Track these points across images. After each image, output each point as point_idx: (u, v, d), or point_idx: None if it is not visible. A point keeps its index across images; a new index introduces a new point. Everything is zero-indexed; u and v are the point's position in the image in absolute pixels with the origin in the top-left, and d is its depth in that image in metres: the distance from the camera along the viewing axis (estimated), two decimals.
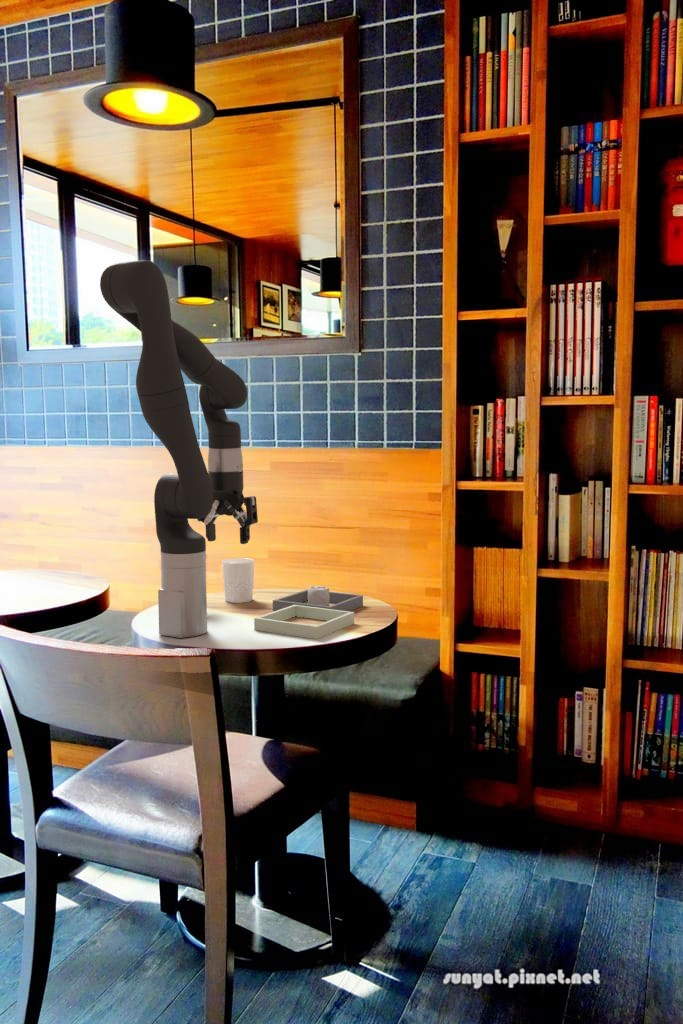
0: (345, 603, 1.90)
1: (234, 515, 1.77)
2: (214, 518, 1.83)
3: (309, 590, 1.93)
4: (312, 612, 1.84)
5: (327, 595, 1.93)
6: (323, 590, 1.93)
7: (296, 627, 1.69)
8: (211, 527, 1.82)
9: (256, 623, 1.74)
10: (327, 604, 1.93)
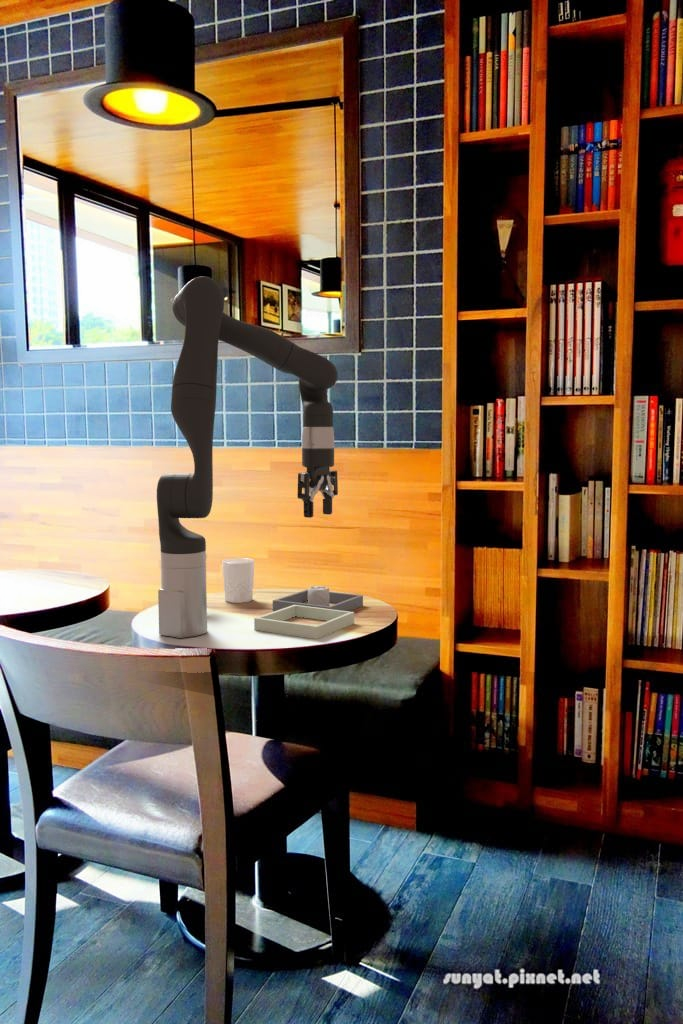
0: (345, 603, 1.90)
1: (331, 488, 1.94)
2: None
3: (309, 590, 1.93)
4: (312, 612, 1.84)
5: (327, 595, 1.93)
6: (323, 590, 1.93)
7: (296, 627, 1.69)
8: None
9: (256, 623, 1.74)
10: (327, 604, 1.93)
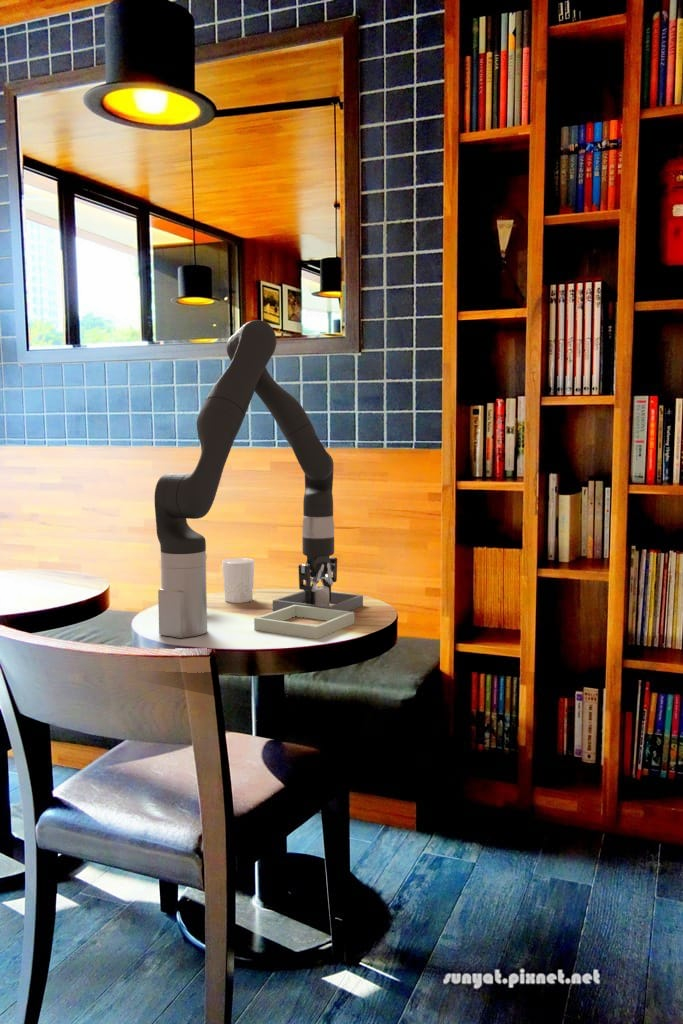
0: (345, 603, 1.90)
1: (330, 575, 1.96)
2: None
3: None
4: (312, 612, 1.84)
5: (327, 595, 1.93)
6: (323, 590, 1.93)
7: (296, 627, 1.69)
8: None
9: (256, 623, 1.74)
10: (327, 604, 1.93)
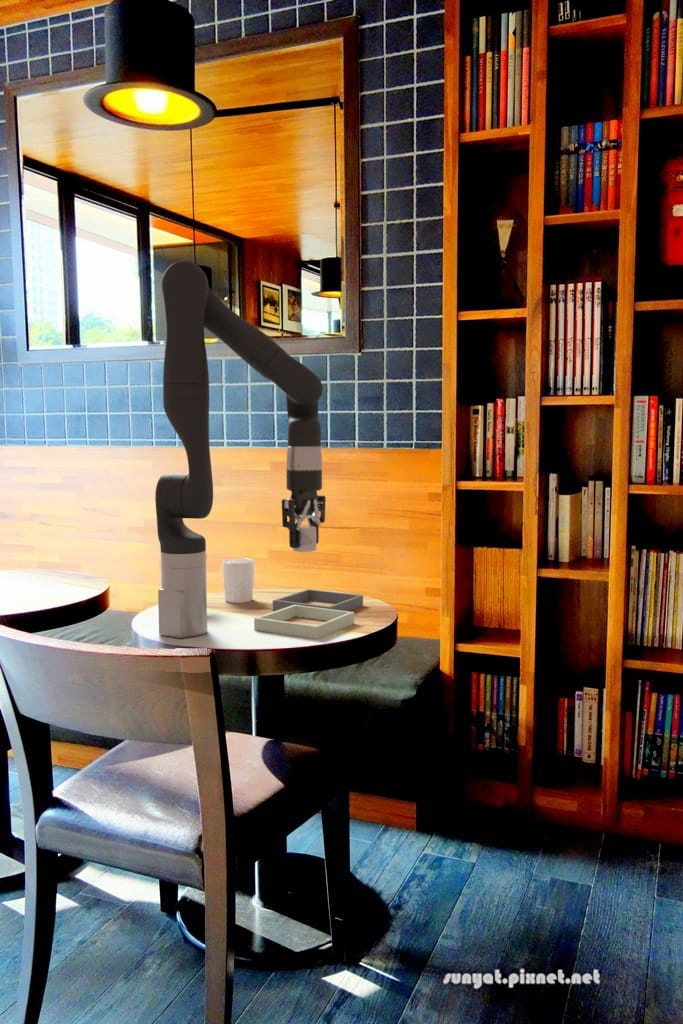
0: (345, 603, 1.90)
1: (317, 514, 1.76)
2: None
3: None
4: (312, 612, 1.84)
5: (314, 534, 1.73)
6: (309, 529, 1.73)
7: (296, 627, 1.69)
8: None
9: (256, 623, 1.74)
10: (314, 544, 1.73)
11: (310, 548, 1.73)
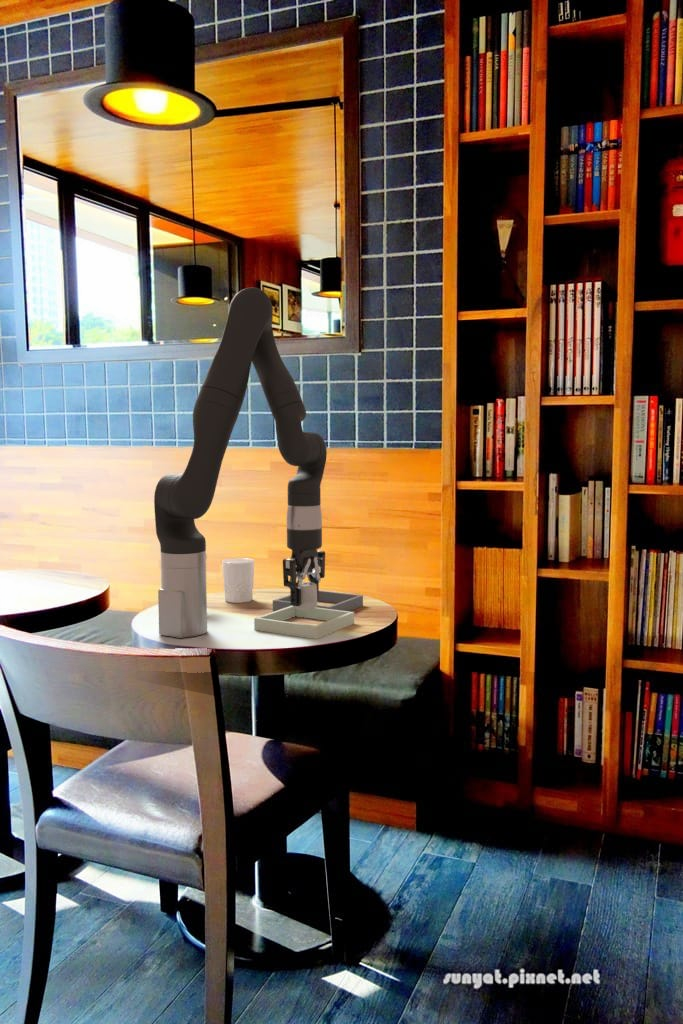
0: (345, 603, 1.90)
1: (318, 571, 1.78)
2: None
3: None
4: (312, 612, 1.84)
5: (314, 592, 1.75)
6: (310, 586, 1.75)
7: (296, 627, 1.69)
8: None
9: (256, 623, 1.74)
10: (315, 602, 1.75)
11: (311, 606, 1.75)
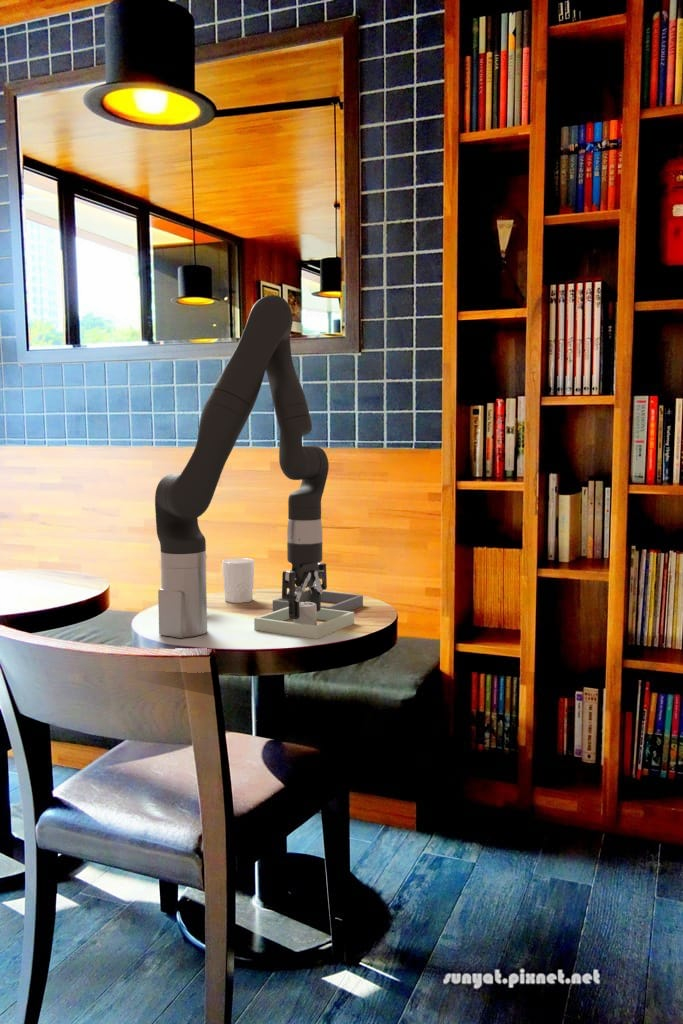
0: (345, 603, 1.90)
1: (319, 584, 1.78)
2: None
3: None
4: None
5: (314, 612, 1.74)
6: (310, 607, 1.74)
7: (296, 627, 1.69)
8: None
9: (256, 623, 1.74)
10: (314, 622, 1.75)
11: None
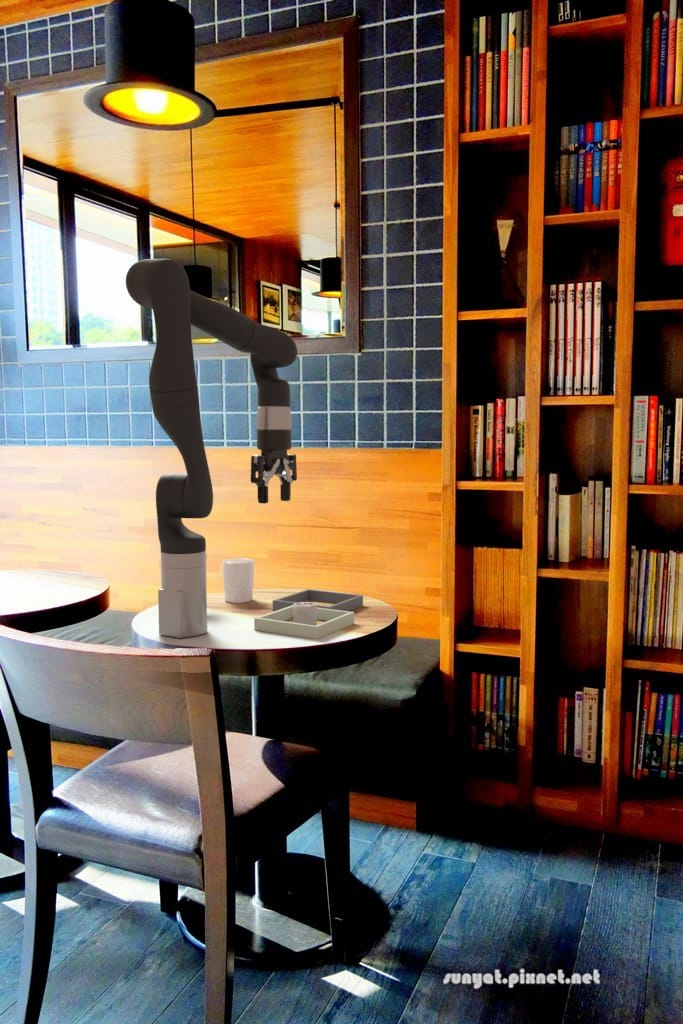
0: (345, 603, 1.90)
1: (288, 472, 1.82)
2: None
3: (294, 607, 1.75)
4: None
5: (314, 612, 1.74)
6: (310, 607, 1.74)
7: (296, 627, 1.69)
8: None
9: (256, 623, 1.74)
10: (314, 622, 1.75)
11: None
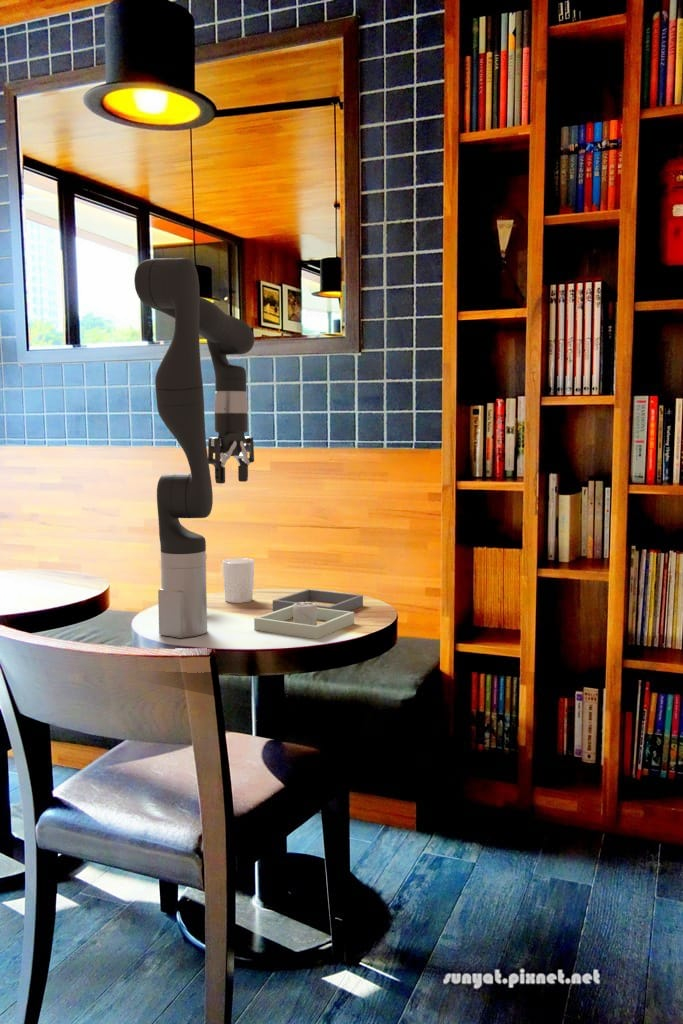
0: (345, 603, 1.90)
1: (245, 454, 1.91)
2: None
3: (294, 607, 1.75)
4: None
5: (314, 612, 1.74)
6: (310, 607, 1.74)
7: (296, 627, 1.69)
8: None
9: (256, 623, 1.74)
10: (314, 622, 1.75)
11: None
